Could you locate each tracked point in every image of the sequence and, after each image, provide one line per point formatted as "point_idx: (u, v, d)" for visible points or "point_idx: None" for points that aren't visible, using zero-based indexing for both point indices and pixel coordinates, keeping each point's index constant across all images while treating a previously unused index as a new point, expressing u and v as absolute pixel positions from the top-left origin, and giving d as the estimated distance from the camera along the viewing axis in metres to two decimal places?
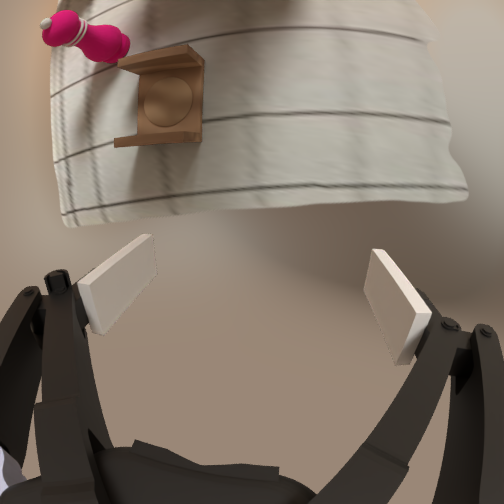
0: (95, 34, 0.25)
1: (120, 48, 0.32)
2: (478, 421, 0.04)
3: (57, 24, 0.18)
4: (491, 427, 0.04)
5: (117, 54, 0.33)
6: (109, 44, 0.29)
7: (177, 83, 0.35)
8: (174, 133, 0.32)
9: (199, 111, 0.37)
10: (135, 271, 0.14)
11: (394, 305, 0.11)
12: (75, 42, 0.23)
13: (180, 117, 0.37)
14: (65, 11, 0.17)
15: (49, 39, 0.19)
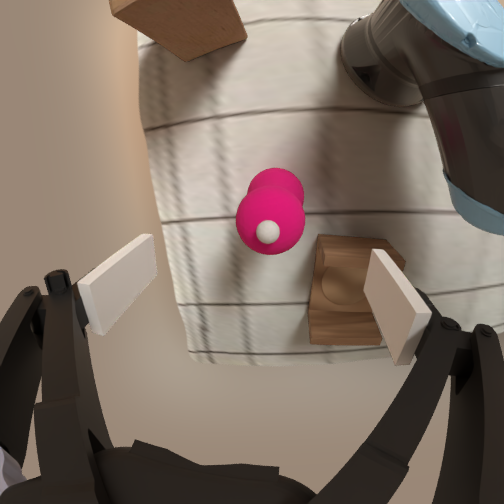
0: None
1: None
2: (478, 420, 0.04)
3: (288, 236, 0.22)
4: (491, 427, 0.04)
5: None
6: None
7: None
8: (374, 339, 0.36)
9: None
10: (135, 271, 0.14)
11: (394, 305, 0.11)
12: None
13: (358, 298, 0.42)
14: (294, 207, 0.22)
15: (267, 253, 0.23)
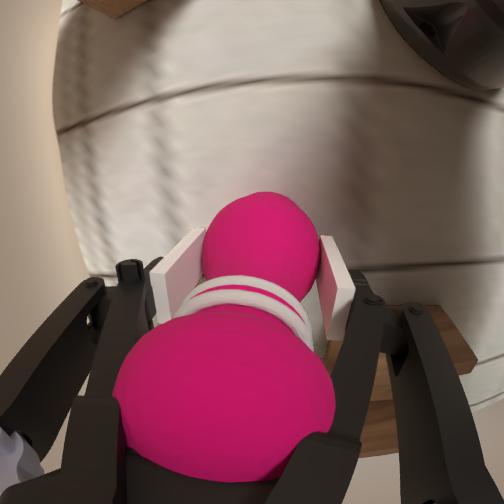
0: None
1: None
2: (427, 402, 0.05)
3: None
4: (442, 407, 0.05)
5: None
6: None
7: None
8: None
9: None
10: (194, 262, 0.15)
11: (328, 284, 0.13)
12: None
13: (387, 387, 0.24)
14: None
15: None
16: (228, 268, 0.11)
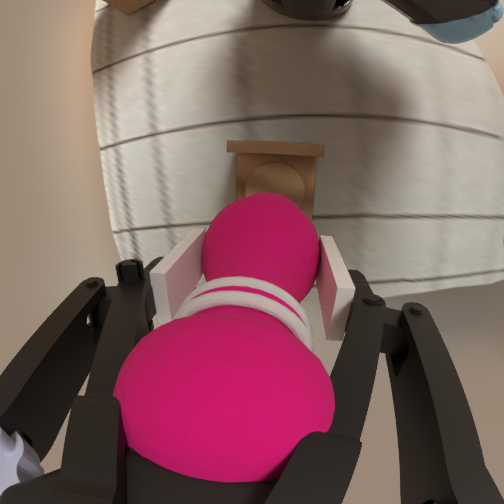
0: None
1: None
2: (426, 402, 0.05)
3: None
4: (442, 407, 0.05)
5: None
6: None
7: (287, 172, 0.37)
8: None
9: (311, 208, 0.38)
10: (194, 262, 0.15)
11: (328, 283, 0.13)
12: None
13: None
14: None
15: None
16: (228, 269, 0.11)
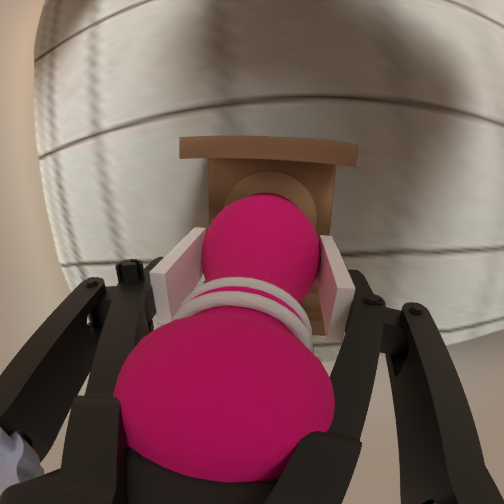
0: None
1: None
2: (426, 402, 0.05)
3: None
4: (442, 407, 0.05)
5: None
6: None
7: (290, 187, 0.23)
8: (315, 323, 0.20)
9: None
10: (194, 262, 0.15)
11: (328, 283, 0.13)
12: None
13: None
14: None
15: None
16: (228, 270, 0.11)
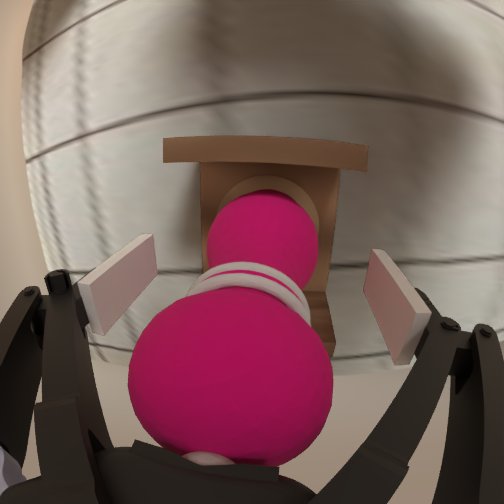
0: None
1: None
2: (478, 420, 0.04)
3: (278, 464, 0.05)
4: (491, 427, 0.04)
5: None
6: (305, 285, 0.17)
7: (289, 193, 0.21)
8: None
9: (329, 255, 0.22)
10: (135, 271, 0.14)
11: (394, 305, 0.11)
12: None
13: None
14: (305, 398, 0.05)
15: None
16: (233, 258, 0.12)
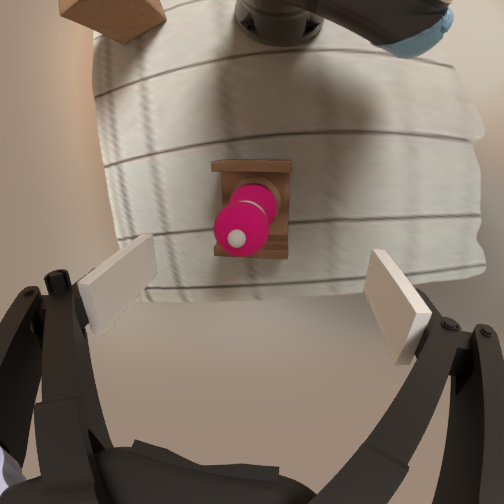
0: None
1: None
2: (478, 421, 0.04)
3: (254, 241, 0.28)
4: (491, 427, 0.04)
5: None
6: (271, 221, 0.39)
7: (265, 184, 0.43)
8: (279, 251, 0.40)
9: (287, 215, 0.45)
10: (135, 271, 0.14)
11: (394, 305, 0.11)
12: None
13: None
14: (258, 218, 0.28)
15: (239, 255, 0.29)
16: None
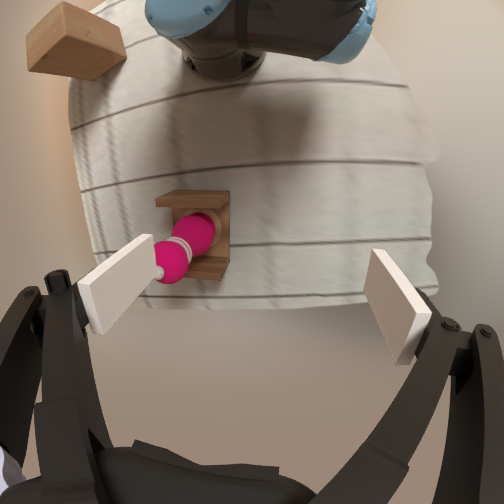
0: (195, 248, 0.42)
1: None
2: (478, 420, 0.04)
3: (172, 274, 0.35)
4: (491, 427, 0.04)
5: None
6: (205, 249, 0.46)
7: (207, 213, 0.50)
8: (213, 274, 0.47)
9: (227, 240, 0.52)
10: (135, 271, 0.14)
11: (394, 305, 0.11)
12: None
13: (212, 243, 0.52)
14: (175, 256, 0.34)
15: (164, 283, 0.36)
16: (174, 237, 0.41)
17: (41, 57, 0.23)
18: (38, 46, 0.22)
